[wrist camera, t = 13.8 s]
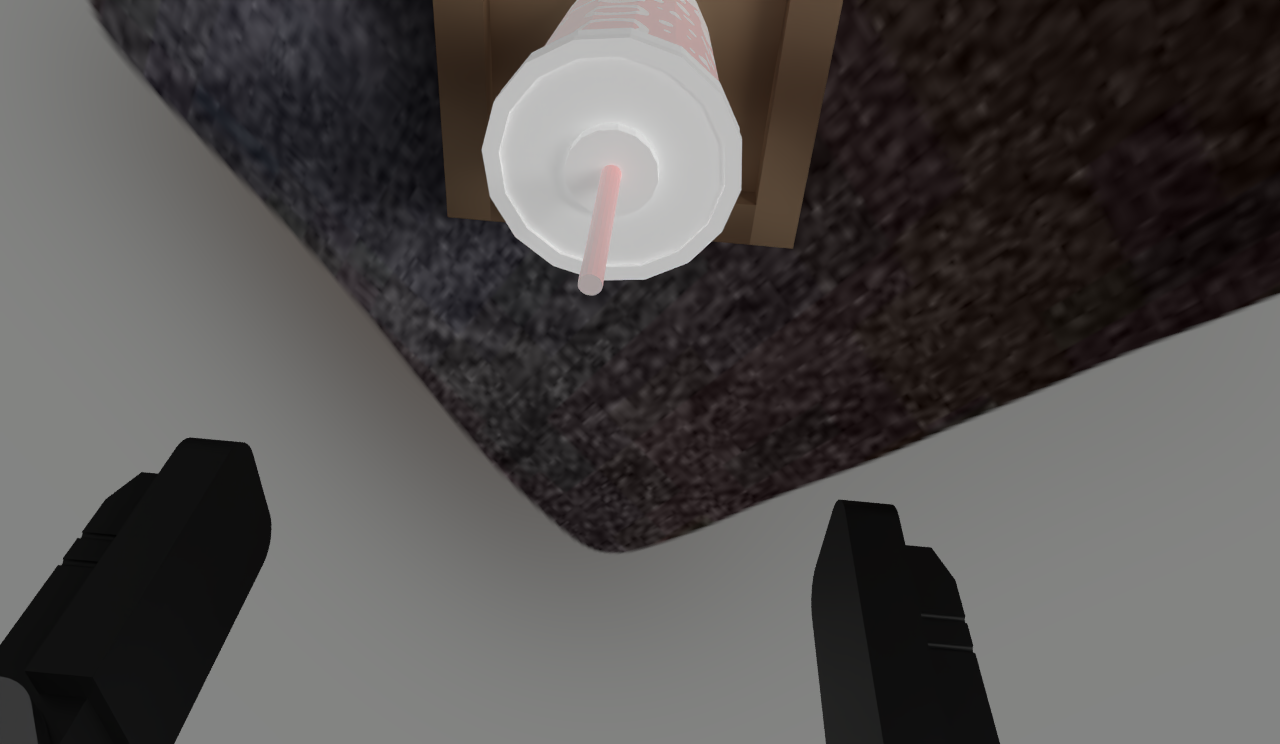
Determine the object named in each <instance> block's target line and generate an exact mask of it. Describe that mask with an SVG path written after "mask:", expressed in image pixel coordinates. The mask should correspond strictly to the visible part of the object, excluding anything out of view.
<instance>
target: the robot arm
mask: <svg viewBox="0 0 1280 744" xmlns="http://www.w3.org/2000/svg"><path fill="white" fill-rule="evenodd" d="M82 533H83V534H82V537H81V538H77V540H76V541H75V543H74V544H73V545H72V547H71V548H70V549H69V551H68V552H67V554H66V555H65V556H64V558H63V564H62V565H58V566H57V567H56V569H55V570H54V571H53V573H52V574H51V576H50V577H49V578H48V580H47V581H46V582H45V584H44V585H43V587H42V588H41V589H40V591H39V592H38V593H37V595H36V596H35V598H34V599H33V601H32V602H31V603H30V605H29V606H28V607H27V609H26V610H25V612H24V613H23V614H22V616H21V617H20V618H19V620H18V621H17V623H16V624H15V625H14V627H13V628H12V629H11V631H10V632H9V634H8V635H7V636H6V638H5V639H4V641H3V642H2V643H1V645H0V744H174V743H175V741H176V739H177V737H178V735H179V733H180V731H181V729H182V727H183V725H184V723H185V721H186V719H187V717H188V715H189V713H190V711H191V709H192V707H193V704H194V703H195V701H196V699H197V697H198V694H199V692H200V690H201V688H202V686H203V684H204V682H205V680H206V678H207V676H208V674H209V672H210V670H211V668H212V666H213V664H214V662H215V660H216V658H217V656H218V654H219V652H220V650H221V648H222V646H223V644H224V642H225V640H226V638H227V636H228V634H229V632H230V630H231V628H232V626H233V624H234V622H235V619H236V618H237V616H238V614H239V612H240V610H241V608H242V606H243V604H244V602H245V600H246V598H247V596H248V594H249V592H250V590H251V588H252V586H253V583H254V582H255V579H256V578H257V575H258V573H259V571H260V569H261V567H262V565H263V563H264V561H265V559H266V556H267V552H268V549H269V545H270V539H271V518H270V513H269V510H268V506H267V503H266V499H265V495H264V492H263V488H262V485H261V481H260V477H259V474H258V470H257V467H256V463H255V460H254V456H253V453H252V450H251V448H250V446H249V445H248V444H246V443H243V442H233V441H221V440H211V439H200V438H186V439H185V440H183V441H182V442H181V443H180V444H179V445H178V446H177V447H176V449H175V450H174V452H173V453H172V455H171V456H170V458H169V459H168V460H167V462H166V463H165V465H164V466H163V468H162V469H161V471H160V472H159V474H155V473H144V472H141V473H140V474H139V475H137V476H136V477H135V478H133V479H132V480H131V481H129V482H128V483H127V484H125V485H124V486H123V487H121V488H120V489H119V490H117V491H116V492H115V493H114V494H112V495H111V496H109V497H108V498H107V499H106V500H105V501H104V502H103V504H102V505H101V507H100V508H99V509H98V511H97V512H96V513H95V515H94V516H93V518H92V519H91V520H90V522H89V523H88V524H87V526H86V527H85V529H84V530H83V531H82ZM811 601H812V602H811V605H812V606H811V608H812V621H813V630H814V638H815V647H816V657H817V666H818V675H819V683H820V693H821V702H822V711H823V720H824V729H825V738H826V744H1000V742H999V738H998V735H997V731H996V727H995V724H994V720H993V716H992V713H991V709H990V705H989V702H988V698H987V694H986V691H985V687H984V684H983V680H982V676H981V673H980V669H979V665H978V661H977V658H976V654H975V653H973V644H972V639H971V636H970V632H969V629H968V625H967V623H965V620H964V619H965V614H964V610H963V607H962V603H961V599H960V596H959V592H958V589H957V584H956V581H955V579H954V578H953V576H952V575H951V574H950V572H949V571H948V570H947V568H946V567H945V566H944V564H943V563H942V562H941V560H940V559H939V557H938V556H937V555H936V553H935V552H934V551H933V549H932V548H930V547H918V546H908V545H905V541H904V537H903V532H902V528H901V524H900V520H899V515H898V512H897V510H896V508H895V506H894V505H890V504H880V503H869V502H859V501H848V500H838V501H837V502H836V503H835V506H834V508H833V511H832V515H831V518H830V521H829V524H828V528H827V531H826V534H825V538H824V541H823V544H822V548H821V551H820V554H819V557H818V561H817V564H816V567H815V571H814V576H813V584H812V598H811Z"/></svg>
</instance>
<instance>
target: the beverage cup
mask: <svg viewBox="0 0 1280 744" xmlns="http://www.w3.org/2000/svg"><path fill="white" fill-rule="evenodd" d="M482 155H483V160H484V166H485V172H486V177H487V183H488V189H489V194H490V198H491V199H492V201H493V202H494V204H495V206H496V207H497V209H498V210H499V212H500V214H501V215H502V217H503V218H504V220H505V221H506V223H507V225H508V226H509V228H510V229H511V231H512V233H513V234H514V236H515V237H516V238H517V239H519V240H520V241H521V242H523V243H524V244H525V245H527V246H528V247H529V248H530V249H532V250H533V251H534V252H536V253H537V254H538V255H540V256H541V257H542V258H544V259H545V260H546V261H547V262H549V263H550V264H551V265H553V266H555V267H558V268H562V269H565V270H568V271H571V272H574V273H577V274H580V275H579V280H578V288H579V289H580V291H581V292H583V293H584V294H586V295H596V294H598V293H599V292H600V291H601V290H602V287H603V282H604V280H643V279H647V278H650V277H653V276H655V275H658V274H660V273H663V272H666V271H668V270H671V269H673V268H676V267H679V266H681V265H684V264H686V263H688V262H690V261H691V260H692V259H693V258H694V257H695V256H696V255H697V254H698V253H699V252H701V251H702V250H703V249H704V248H705V247H706V246H707V245H708V244H709V243H710V242H712V241H713V240H714V239H715V238H716V237H717V236H718V235H719V234H720V233H721V232H722V231H723V229H724V226H725V224H726V222H727V220H728V218H729V216H730V213H731V211H732V209H733V207H734V205H735V203H736V200H737V198H738V196H739V194H740V192H741V181H742V136H741V134H740V128H739V125H738V123H737V121H736V118H735V116H734V114H733V111H732V109H731V107H730V104H729V102H728V100H727V98H726V95H725V93H724V91H723V88H722V86H721V84H720V82H719V79H718V74H717V69H716V65H715V60H714V55H713V51H712V46H711V41H710V36H709V32H708V28H707V26H706V23H705V21H704V19H703V16H702V14H701V11H700V9H699V7H698V4H697V2H696V1H695V0H576V2H575V3H574V4H573V5H572V6H571V8H570V9H569V11H568V12H567V14H566V15H565V17H564V18H563V20H562V21H561V22H560V24H559V25H558V27H557V28H556V30H555V31H554V33H553V34H552V36H551V37H550V39H549V40H548V42H547V43H546V45H545V46H544V47H542V48H540V49H538V50H536V51H534V52H532V53H531V54H530V56H529V57H528V58H527V59H526V60H525V62H524V63H523V64H522V65H521V67H520V68H519V69H518V70H517V72H516V73H515V74H514V75H513V76H512V78H511V79H510V80H509V81H508V83H507V84H506V85H505V86H504V88H503V89H502V90H501V92H500V93H499V95H498V96H497V97H496V99H495V101H494V102H493V106H492V110H491V114H490V118H489V122H488V126H487V130H486V134H485V138H484V142H483V146H482Z"/></svg>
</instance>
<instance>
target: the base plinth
mask: <svg viewBox="0 0 1280 744" xmlns="http://www.w3.org/2000/svg"><path fill="white" fill-rule="evenodd" d="M695 1H696V2H697V4H698V7H699V9H700V11H701V14H702V16H703V19H704V21H705V23H706V26H707V28H708V32H709V36H710V41H711V46H712V51H713V55H714V60H715V65H716V69H717V74H718V79H719V82H720V84H721V86H722V88H723V91H724V93H725V95H726V98H727V100H728V102H729V104H730V107H731V109H732V111H733V114H734V116H735V118H736V121H737V123H738V125H739V128H740V134H741V136H742V181H741V192H740V194H739V196H738V198H737V200H736V203H735V205H734V207H733V209H732V211H731V213H730V216H729V218H728V220H727V222H726V224H725V226H724V229H723V231H722V232H721V233H720V234H719V235H718V236H717V237H716V238H715V239H714V240H713V241H715V242H726V243H737V244H748V245H759V246H770V247H781V248H792V249H793V245H794V240H795V235H796V230H797V225H798V220H799V215H800V210H801V205H802V201H803V196H804V191H805V186H806V181H807V176H808V171H809V166H810V161H811V156H812V151H813V146H814V141H815V136H816V131H817V126H818V121H819V117H820V112H821V107H822V102H823V97H824V92H825V87H826V82H827V77H828V72H829V67H830V62H831V57H832V52H833V47H834V42H835V37H836V33H837V28H838V23H839V18H840V13H841V8H842V3H843V0H695ZM575 2H576V0H433V12H434V26H435V40H436V55H437V69H438V83H439V98H440V112H441V126H442V141H443V155H444V169H445V184H446V198H447V213H448V217H453V218H464V219H475V220H486V221H497V222H506V221H505V220H504V218H503V217H502V215H501V214H500V212H499V210H498V209H497V207H496V206H495V204H494V202H493V201H492V199H491V198H490V194H489V189H488V183H487V177H486V172H485V166H484V160H483V155H482V146H483V142H484V138H485V134H486V130H487V126H488V122H489V118H490V114H491V110H492V106H493V102H494V101H495V99H496V97H497V96H498V95H499V93H500V92H501V90H502V89H503V88H504V86H505V85H506V84H507V83H508V81H509V80H510V79H511V78H512V76H513V75H514V74H515V73H516V72H517V70H518V69H519V68H520V67H521V65H522V64H523V63H524V62H525V60H526V59H527V58H528V57H529V56H530V54H531V53H532V52H534V51H536V50H538V49H540V48H542V47H544V46H545V45H546V43H547V42H548V40H549V39H550V37H551V36H552V34H553V33H554V31H555V30H556V28H557V27H558V25H559V24H560V22H561V21H562V20H563V18H564V17H565V15H566V14H567V12H568V11H569V9H570V8H571V6H572V5H573V4H574V3H575Z"/></svg>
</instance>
